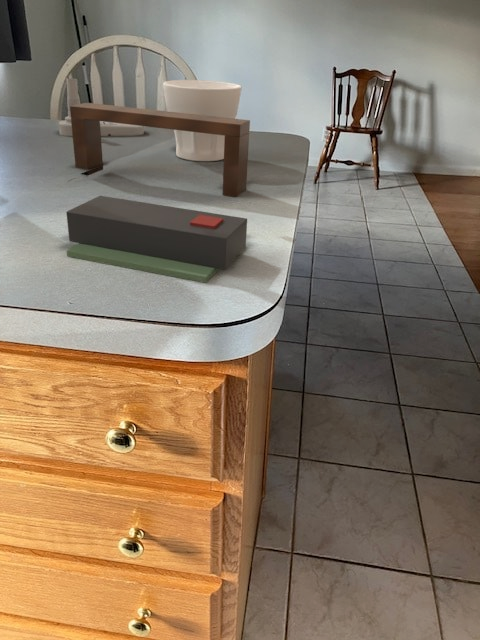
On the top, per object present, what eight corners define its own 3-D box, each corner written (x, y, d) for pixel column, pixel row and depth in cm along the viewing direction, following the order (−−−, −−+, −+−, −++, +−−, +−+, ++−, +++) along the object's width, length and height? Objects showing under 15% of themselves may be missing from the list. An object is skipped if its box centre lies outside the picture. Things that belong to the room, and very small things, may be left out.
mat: (66, 256, 50) (66, 250, 50) (120, 224, 59) (120, 219, 59) (206, 283, 47) (206, 276, 47) (242, 245, 55) (242, 239, 55)
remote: (69, 241, 52) (65, 208, 51) (102, 223, 57) (99, 192, 56) (225, 270, 48) (226, 235, 47) (245, 247, 53) (247, 215, 52)
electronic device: (146, 84, 95) (56, 79, 90) (146, 142, 99) (60, 140, 94) (140, 81, 99) (54, 76, 94) (140, 136, 104) (58, 135, 99)
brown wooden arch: (75, 173, 76) (69, 105, 72) (91, 167, 80) (86, 102, 75) (236, 197, 70) (240, 124, 66) (246, 189, 74) (250, 120, 69)
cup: (167, 164, 84) (166, 87, 78) (161, 147, 94) (159, 78, 89) (245, 164, 86) (249, 90, 81) (231, 148, 97) (234, 81, 92)
